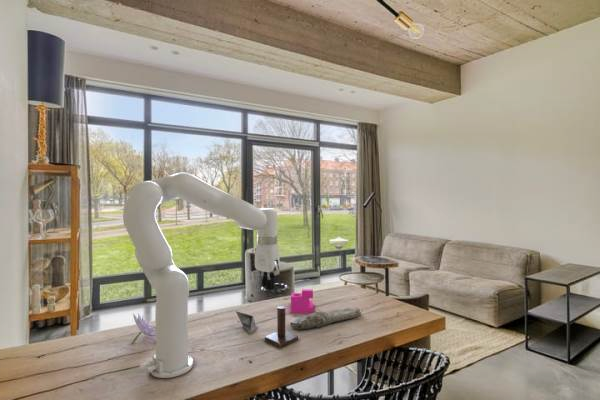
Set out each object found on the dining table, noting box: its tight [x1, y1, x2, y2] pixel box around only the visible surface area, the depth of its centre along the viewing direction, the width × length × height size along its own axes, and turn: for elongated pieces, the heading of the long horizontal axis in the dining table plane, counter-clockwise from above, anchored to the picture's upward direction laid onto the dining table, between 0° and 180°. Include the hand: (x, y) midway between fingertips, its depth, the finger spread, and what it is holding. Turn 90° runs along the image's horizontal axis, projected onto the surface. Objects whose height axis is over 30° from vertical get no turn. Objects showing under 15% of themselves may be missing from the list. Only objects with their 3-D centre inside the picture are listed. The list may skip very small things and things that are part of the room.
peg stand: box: [264, 305, 299, 349], centre depth 121 cm, size 9×9×12 cm
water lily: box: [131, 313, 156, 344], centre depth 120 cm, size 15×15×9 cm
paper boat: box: [235, 311, 257, 335], centre depth 131 cm, size 12×6×9 cm
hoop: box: [260, 282, 290, 296], centre depth 119 cm, size 10×10×2 cm
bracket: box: [290, 288, 314, 314], centre depth 155 cm, size 12×10×10 cm
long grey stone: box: [289, 307, 362, 330], centre depth 138 cm, size 35×5×10 cm
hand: (268, 288), depth 122 cm, fingers closed on hoop, 2 cm apart
